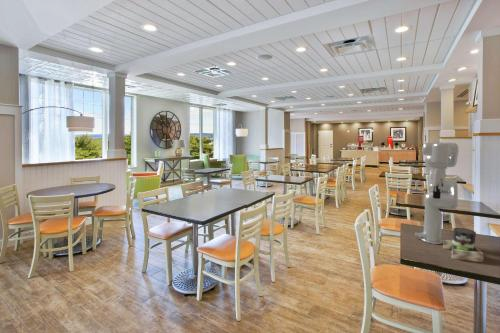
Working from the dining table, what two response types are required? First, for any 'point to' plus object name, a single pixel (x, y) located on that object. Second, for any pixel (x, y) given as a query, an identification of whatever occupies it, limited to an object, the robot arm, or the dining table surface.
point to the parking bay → (464, 253)
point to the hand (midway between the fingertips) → (436, 198)
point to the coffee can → (463, 239)
